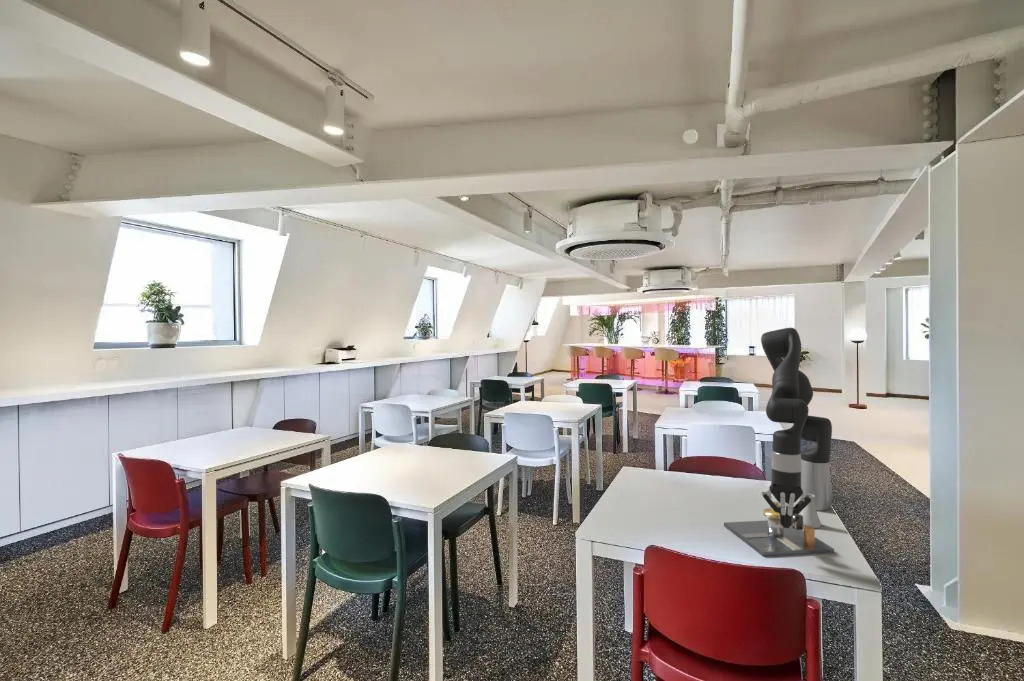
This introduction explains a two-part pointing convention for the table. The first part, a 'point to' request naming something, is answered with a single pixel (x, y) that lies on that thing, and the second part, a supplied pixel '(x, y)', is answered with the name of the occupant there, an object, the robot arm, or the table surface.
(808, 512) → the flask
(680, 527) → the table surface
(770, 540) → the lock base
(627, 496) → the table surface
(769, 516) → the brass lever handle
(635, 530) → the table surface
